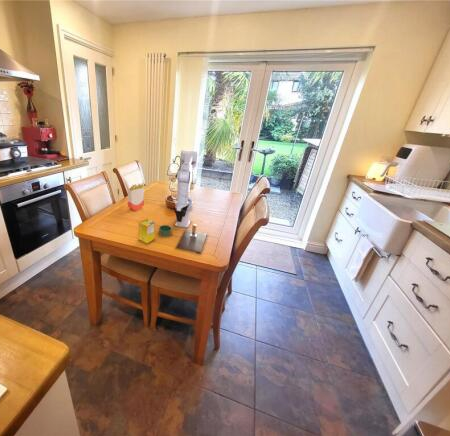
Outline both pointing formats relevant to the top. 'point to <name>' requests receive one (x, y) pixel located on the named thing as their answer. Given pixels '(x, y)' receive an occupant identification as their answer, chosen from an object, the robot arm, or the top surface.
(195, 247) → the board
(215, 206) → the top surface
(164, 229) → the green bowl
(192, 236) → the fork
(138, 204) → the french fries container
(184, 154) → the robot arm
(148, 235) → the supplement box
